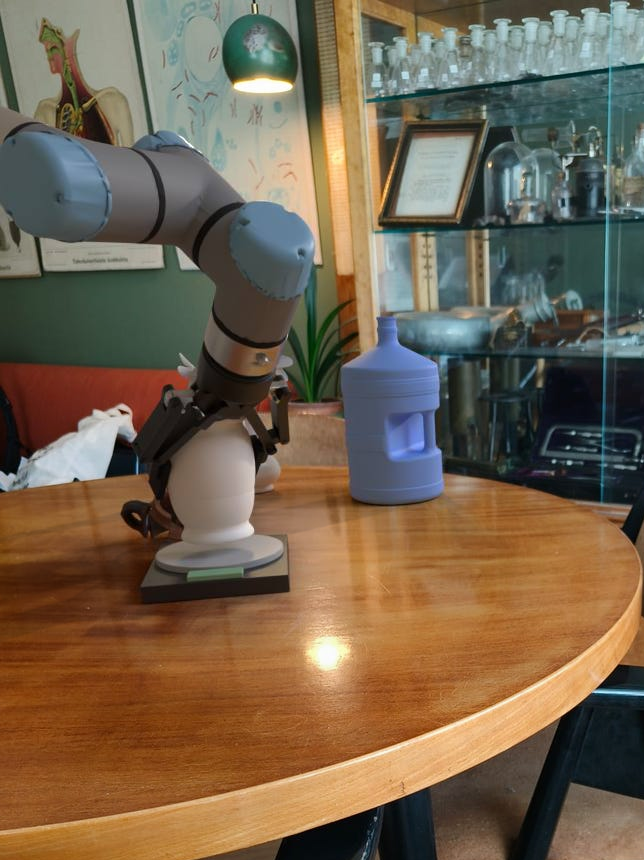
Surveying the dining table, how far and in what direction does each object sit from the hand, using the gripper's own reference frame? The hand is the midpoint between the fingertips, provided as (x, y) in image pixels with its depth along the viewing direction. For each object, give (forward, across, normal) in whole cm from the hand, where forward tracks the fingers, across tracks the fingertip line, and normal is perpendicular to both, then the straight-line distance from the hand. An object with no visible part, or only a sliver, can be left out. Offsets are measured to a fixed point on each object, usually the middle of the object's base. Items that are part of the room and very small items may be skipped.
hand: (202, 483), depth 107 cm
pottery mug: (+19, +1, +4) cm, 19 cm away
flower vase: (+36, +24, +21) cm, 48 cm away
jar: (+2, 0, -6) cm, 7 cm away
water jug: (+20, +40, +6) cm, 45 cm away
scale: (+5, 0, -10) cm, 11 cm away
